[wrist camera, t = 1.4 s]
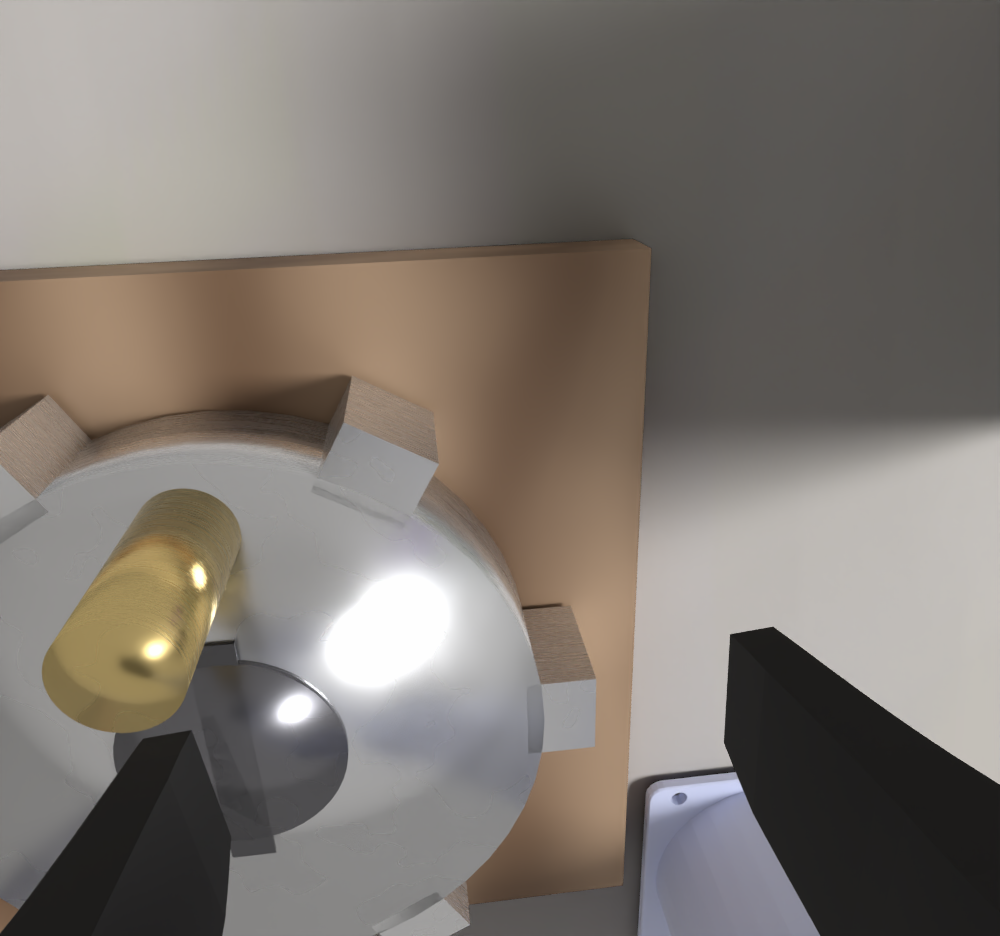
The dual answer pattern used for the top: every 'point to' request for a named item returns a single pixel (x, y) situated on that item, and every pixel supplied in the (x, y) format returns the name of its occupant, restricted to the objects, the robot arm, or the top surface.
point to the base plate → (458, 427)
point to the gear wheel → (276, 655)
